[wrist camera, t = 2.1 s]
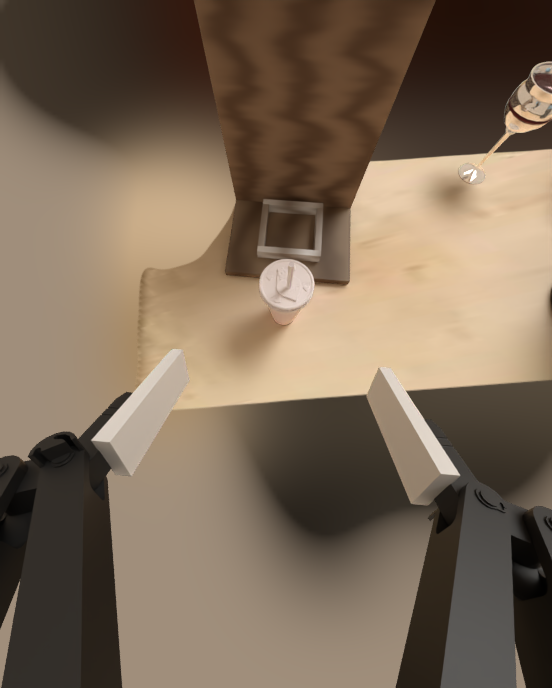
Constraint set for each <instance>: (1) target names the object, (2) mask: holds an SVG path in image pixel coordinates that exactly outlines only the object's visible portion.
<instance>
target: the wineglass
mask: <svg viewBox="0 0 552 688" xmlns="http://www.w3.org/2000/svg"><path fill="white" fill-rule="evenodd" d="M551 120H552V62H544V63H540V64H538V65H536V66H535V67H534V68H533V69H532V71H531V73H530V75H529V78H528V79H527V80H525V81H524V82H523V83H521V84H520V86H518V88H517V89H516V90H515V91H514V93H513V94H512V96H511V97H510V99H509V100H508V103H507V104H506V107H505V113H504V123H505V125H506V126H507V127H506V133H505V134H504V135H503V136H502V137H501V139H500V140H499V141H498V142H497V143H496V144H495V146H494V147H493V148H492V149H491V150H490V152H489V153H488V154H487V155H486V156H485V157H484V158H483V160H482V161H481V162H480V163H479V164H478V165H477V164H474V163H465V164H463V165H461V166H460V168H459V171H458V172H459V175H460V177H461V178H462V179H463V180H464V181H466V182H468V183H471V184H478V183H481V182H483V181H484V179H485V176H486V175H485V171H484V170H483V169H482V168H481V167H480V166H481V165H482V163H483V162H484V161H485V160H486V159H487V158H488V157H489V156H490V155H491V154H492V153H493V152H494V151H495V150H496V149H497V148H498V147H499V146H500V145H501V144H502V143H503V142H504V141H505V140H506V139H507V138H508V137H509V135H510V134H514V133H516V132H518V133H524V132H528V131H531V130H534V129H537V128H540V127H541V126H543V125H544V124H546V123H548V122H549V121H551Z"/></svg>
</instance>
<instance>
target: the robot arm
mask: <svg viewBox="0 0 552 688" xmlns="http://www.w3.org/2000/svg"><path fill="white" fill-rule="evenodd" d="M189 381H190V380H189V375H188V371H187V366H186V361H185V357H184V352H183V350H180V349H171V350H170V351H169V352H168V354H167V355H166V356H165V357H164V358H163V359H162V360H161V362H160V363H159V364H158V365H157V366H156V367H155V368H154V370H153V371H152V372H151V373H150V374H149V375H148V376H147V377H146V379H145V380H144V381H143V382H142V383H141V384H140V385H139V387H138V388H137V389H136V390H135V391H134V392H133V393H129V392H126V393H124V394H123V395H121V396H120V397H118V398H117V399H116V400H114V402H113V403H112V404H111V405H110V406H109V407H108V409H106V410H105V411H104V412H103V413H102V415H100V417H98V418H97V420H96V421H95V422H94V423H93V424H92V425H91V426H90V427H89V428H88V429H87V430H86V431H85V432H84V433H83V434H82V436H81V437H80V438H79V439H77V437H76V436H75V435H74V434H73V433H71V432H60V433H56V434H54V435H51V436H49V437H47V438H45V439H44V440H42V441H41V442H39V443H38V444H37V445H36V446H35V447H34V448H33V449H32V450H31V451H30V453H29V455H28V457H29V458H30V459H31V460H29V461H25V462H24V461H23V460H22V459H20V458H19V457H17V456H5V457H3V458H0V628H1V626H2V623H3V621H4V618H5V616H6V613H7V611H8V608H9V606H10V603H11V601H12V598H13V596H14V593H15V591H16V588H17V586H18V583H19V581H20V586H19V591H18V597H17V602H16V608H15V614H14V619H13V625H12V631H11V636H10V642H9V647H8V653H7V659H6V665H5V670H4V676H3V681H2V687H1V688H122V679H121V665H120V650H119V638H118V637H119V636H118V623H117V608H116V595H115V579H114V565H113V552H112V536H111V523H110V508H109V494H108V480H107V477H106V475H107V473H108V472H109V471H110V469H112V471H113V472H114V473H115V475H122V476H132V475H133V473H134V471H135V470H136V468H137V466H138V465H139V463H140V461H141V460H142V458H143V456H144V455H145V453H146V452H147V450H148V448H149V446H150V445H151V443H152V441H153V440H154V438H155V436H156V435H157V433H158V432H159V430H160V428H161V427H162V425H163V423H164V422H165V420H166V418H167V417H168V415H169V413H170V412H171V410H172V409H173V407H174V405H175V404H176V402H177V400H178V399H179V397H180V395H181V394H182V392H183V390H184V389H185V387H186V386H187V384H188V382H189ZM367 399H368V401H369V404H370V406H371V408H372V410H373V413H374V415H375V417H376V420H377V423H378V425H379V427H380V430H381V432H382V435H383V437H384V440H385V442H386V444H387V447H388V449H389V452H390V454H391V456H392V459H393V461H394V464H395V466H396V468H397V471H398V473H399V475H400V478H401V480H402V483H403V485H404V488H405V490H406V492H407V495H408V497H409V499H410V502H411V504H419V505H429V504H430V503H431V502H432V501H433V500H435V502H436V503H437V506H438V509H437V510H435V511H434V512H433V513H432V514H431V515H430V516H429V517H428V519H429V520H432V519H433V518H434V521H433V526H432V530H431V534H430V539H429V543H428V548H427V552H426V556H425V561H424V565H423V569H422V574H421V578H420V583H419V587H418V592H417V596H416V601H415V605H414V609H413V614H412V618H411V622H410V627H409V632H408V636H407V640H406V644H405V649H404V653H403V658H402V662H401V666H400V671H399V675H398V680H397V684H396V688H516V663H515V644H516V648H517V652H518V656H519V660H520V665H521V669H522V673H523V677H524V681H525V685H526V688H552V510H551V509H548V508H546V507H542V506H536V507H534V508H532V509H530V510H526V509H524V508H521V507H519V506H516V505H513V504H511V503H509V502H506V501H504V500H503V499H502V498H501V497H500V496H499V495H498V494H497V493H496V492H495V491H494V490H492V489H491V488H489V487H488V486H487V485H484V484H482V483H480V482H478V481H477V479H476V478H475V477H474V475H473V474H472V473H471V471H470V469H469V468H468V467H467V465H466V464H465V462H464V461H463V460H462V458H461V457H460V455H459V454H458V452H457V451H456V450H455V448H453V445H452V444H451V442H450V441H449V440H447V437H446V435H445V434H444V433H443V431H442V430H441V428H440V427H439V426H437V425H436V424H435V423H434V422H433V421H432V420H431V419H423V417H422V416H421V414H420V412H419V411H418V410H417V408H416V406H415V405H414V403H413V402H412V400H411V399H410V397H409V396H408V394H407V393H406V391H405V389H404V388H403V386H402V385H401V383H400V382H399V380H398V379H397V377H396V376H395V374H394V372H393V371H392V369H391V368H385V367H379V368H378V370H377V373H376V375H375V377H374V380H373V382H372V384H371V387H370V389H369V391H368V394H367ZM20 578H21V579H20Z"/></svg>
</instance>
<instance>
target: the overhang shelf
mask: <svg viewBox="0 0 552 688" xmlns="http://www.w3.org/2000/svg"><path fill="white" fill-rule="evenodd" d="M194 2H195V7H196V12H197V17H198V21H199V26H200V31H201V35H202V40H203V45H204V50H205V54H206V59H207V64H208V69H209V73H210V78H211V82H212V87H213V92H214V97H215V101H216V106H217V111H218V116H219V120H220V125H221V130H222V135H223V140H224V144H225V149H226V154H227V158H228V163H229V168H230V172H231V177H232V182H233V187H234V192H235V196H236V205H235V211H234V218H233V224H232V230H231V237H230V243H229V249H228V256H227V262H226V269H225V272H226V275H235V276H248V277H260V276H261V274H262V272H263V270H264V269H265V268H266V267H267V266H268V265H269V264H271V263H273V262H275V261H277V260H281V259H292V260H296V261H299V262H301V263H302V264H304V265H305V266H306V267H307V268H308V269H309V270H310V271H311V273H312V275H313V278H314V282H324V283H336V284H348V283H349V281H350V208H351V206H352V203H353V201H354V198H355V196H356V193H357V191H358V188H359V186H360V184H361V181H362V179H363V176H364V174H365V171H366V169H367V166H368V164H369V162H370V159H371V157H372V154H373V152H374V149H375V147H376V144H377V142H378V140H379V137H380V135H381V132H382V130H383V127H384V125H385V122H386V120H387V118H388V115H389V113H390V110H391V108H392V105H393V103H394V100H395V98H396V96H397V93H398V90H399V88H400V86H401V83H402V81H403V78H404V76H405V73H406V71H407V69H408V66H409V64H410V61H411V59H412V56H413V54H414V52H415V49H416V46H417V44H418V42H419V39H420V37H421V34H422V32H423V29H424V27H425V25H426V22H427V19H428V17H429V15H430V12H431V10H432V8H433V5H434V3H435V0H194Z"/></svg>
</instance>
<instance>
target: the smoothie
mask: <svg viewBox="0 0 552 688" xmlns="http://www.w3.org/2000/svg"><path fill="white" fill-rule="evenodd" d="M313 291H314V278H313V275H312V273H311V271H310V270H309V269H308V268H307V267H306V266H305V265H304V264H302V263H301V262H299V261H296V260H292V259H281V260H277V261H275V262H273V263H271V264H269V265H268V266H267V267H266V268H265V269H264V270H263V272H262V274H261V276H260V280H259V292H260V295H261V298H262V299H263V301H264V302H265V304H267V305H268V308H269V310H270V312H271V315H272V317H273V319H274V321H275V322H276V323H278V324H280V325H287V324H290V323H291V322H292V321H293V320H294V319H295V317H296V316H297V314H298V313H299V311H300V310H301V309H302V308H303V307H305V306H306V305H307V304H308V303H309V301H310V299H311V298H312V295H313Z"/></svg>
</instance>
